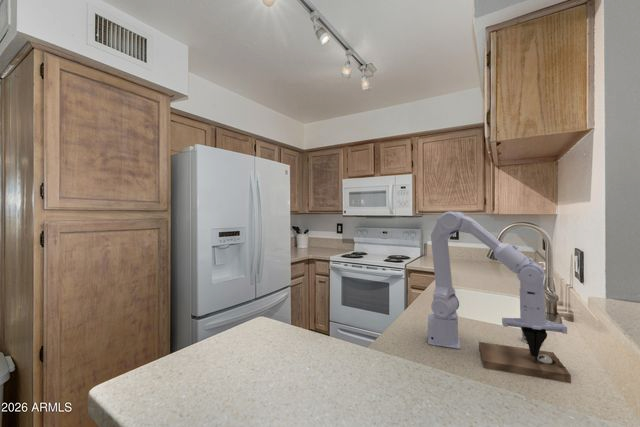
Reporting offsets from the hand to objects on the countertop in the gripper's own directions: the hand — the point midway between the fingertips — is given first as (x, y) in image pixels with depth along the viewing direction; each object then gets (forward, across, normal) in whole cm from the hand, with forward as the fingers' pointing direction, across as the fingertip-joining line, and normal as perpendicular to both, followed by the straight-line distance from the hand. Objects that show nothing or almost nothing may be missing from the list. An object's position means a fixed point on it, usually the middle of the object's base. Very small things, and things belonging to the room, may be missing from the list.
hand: (534, 355), depth 79 cm
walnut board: (+3, -4, 0) cm, 5 cm away
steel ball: (+1, +2, 0) cm, 3 cm away
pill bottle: (+3, +4, +18) cm, 19 cm away
